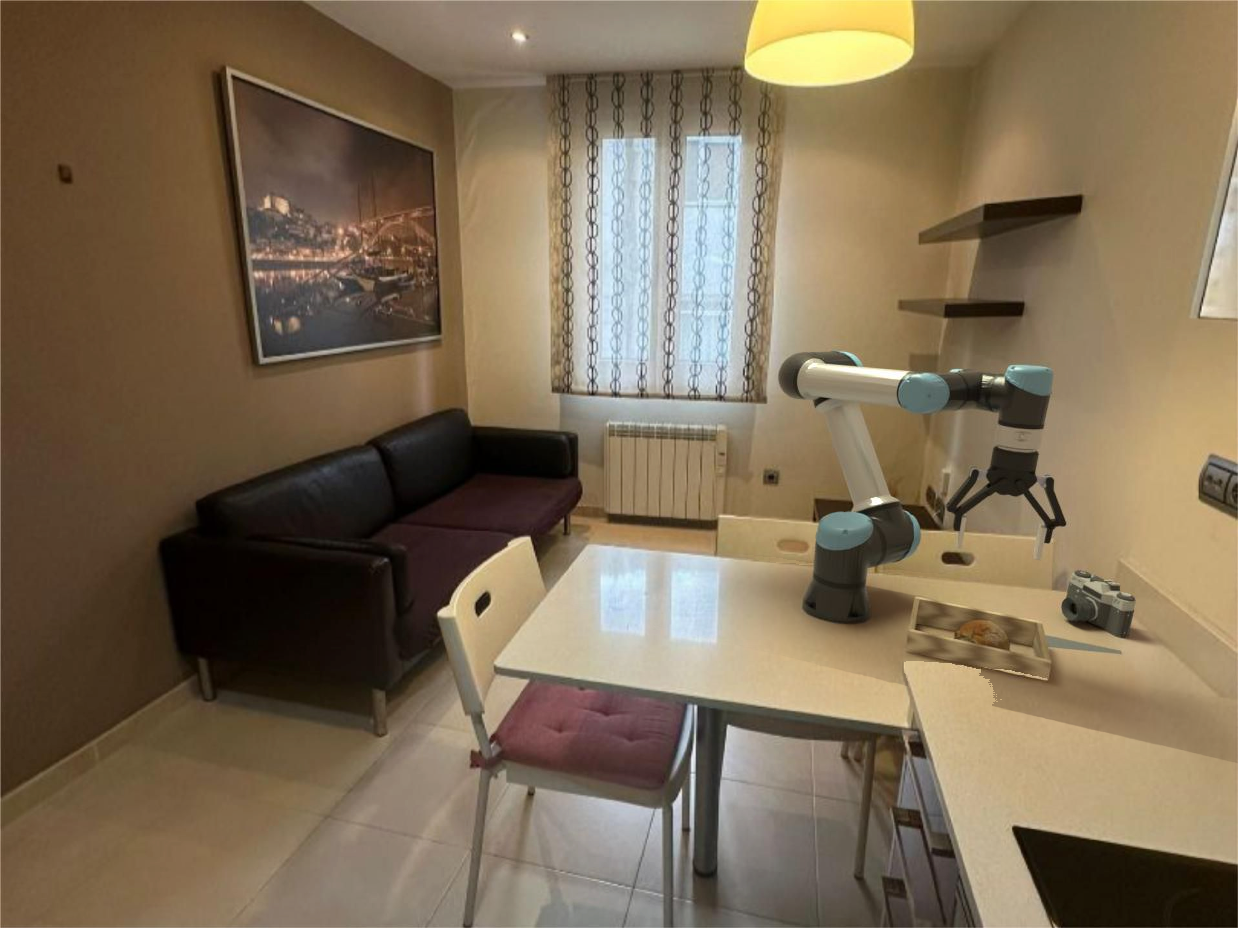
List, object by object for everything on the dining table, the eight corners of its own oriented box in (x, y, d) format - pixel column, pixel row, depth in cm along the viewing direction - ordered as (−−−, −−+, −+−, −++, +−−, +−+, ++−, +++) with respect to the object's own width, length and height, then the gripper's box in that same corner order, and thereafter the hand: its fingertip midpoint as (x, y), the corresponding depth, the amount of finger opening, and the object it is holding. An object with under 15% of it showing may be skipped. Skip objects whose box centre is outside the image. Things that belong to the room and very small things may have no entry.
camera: (1039, 605, 153) (1046, 566, 150) (1078, 605, 153) (1086, 566, 151) (1090, 639, 137) (1099, 596, 135) (1134, 637, 138) (1144, 595, 136)
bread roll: (1001, 682, 126) (1029, 653, 124) (956, 654, 127) (983, 624, 124) (984, 655, 136) (1010, 628, 133) (942, 629, 136) (967, 601, 134)
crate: (904, 657, 129) (908, 630, 127) (911, 620, 144) (915, 596, 143) (1046, 692, 118) (1051, 662, 116) (1037, 647, 133) (1042, 621, 132)
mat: (1046, 667, 126) (1047, 664, 126) (1040, 636, 138) (1040, 634, 138) (1135, 687, 120) (1136, 684, 119) (1120, 653, 132) (1120, 650, 131)
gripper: (945, 444, 123) (928, 547, 128) (1100, 459, 114) (1076, 570, 119) (942, 437, 129) (926, 535, 135) (1089, 450, 120) (1066, 555, 126)
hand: (996, 552), depth 127 cm, fingers open, 13 cm apart
